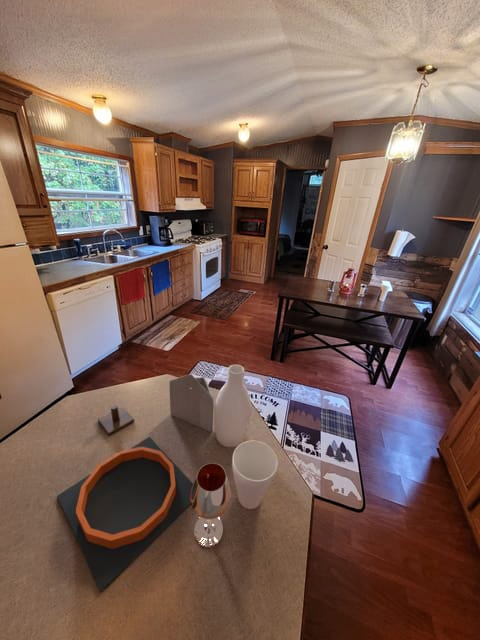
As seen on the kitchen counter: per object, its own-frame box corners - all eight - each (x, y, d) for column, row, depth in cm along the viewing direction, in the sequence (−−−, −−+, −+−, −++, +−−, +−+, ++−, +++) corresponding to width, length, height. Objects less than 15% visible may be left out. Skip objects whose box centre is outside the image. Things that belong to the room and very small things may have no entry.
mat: (57, 497, 60) (56, 495, 60) (149, 437, 77) (149, 436, 77) (101, 592, 46) (100, 591, 46) (201, 494, 63) (201, 493, 63)
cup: (253, 530, 57) (259, 492, 51) (220, 497, 63) (222, 459, 57) (278, 495, 64) (286, 458, 59) (246, 468, 70) (251, 432, 65)
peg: (98, 421, 81) (95, 406, 79) (122, 408, 87) (120, 394, 84) (109, 435, 76) (106, 420, 74) (134, 421, 82) (132, 407, 80)
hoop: (65, 495, 60) (63, 486, 59) (146, 442, 75) (146, 434, 74) (104, 575, 48) (102, 566, 46) (192, 492, 63) (192, 484, 61)
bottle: (229, 417, 87) (234, 353, 77) (255, 435, 81) (264, 369, 70) (205, 436, 79) (207, 368, 69) (231, 458, 73) (238, 387, 62)
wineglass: (231, 516, 59) (237, 463, 52) (220, 559, 52) (225, 504, 44) (198, 505, 60) (199, 453, 53) (183, 545, 53) (182, 490, 46)
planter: (223, 416, 87) (226, 369, 79) (211, 432, 80) (213, 383, 73) (184, 400, 93) (183, 355, 85) (170, 414, 86) (167, 366, 78)
